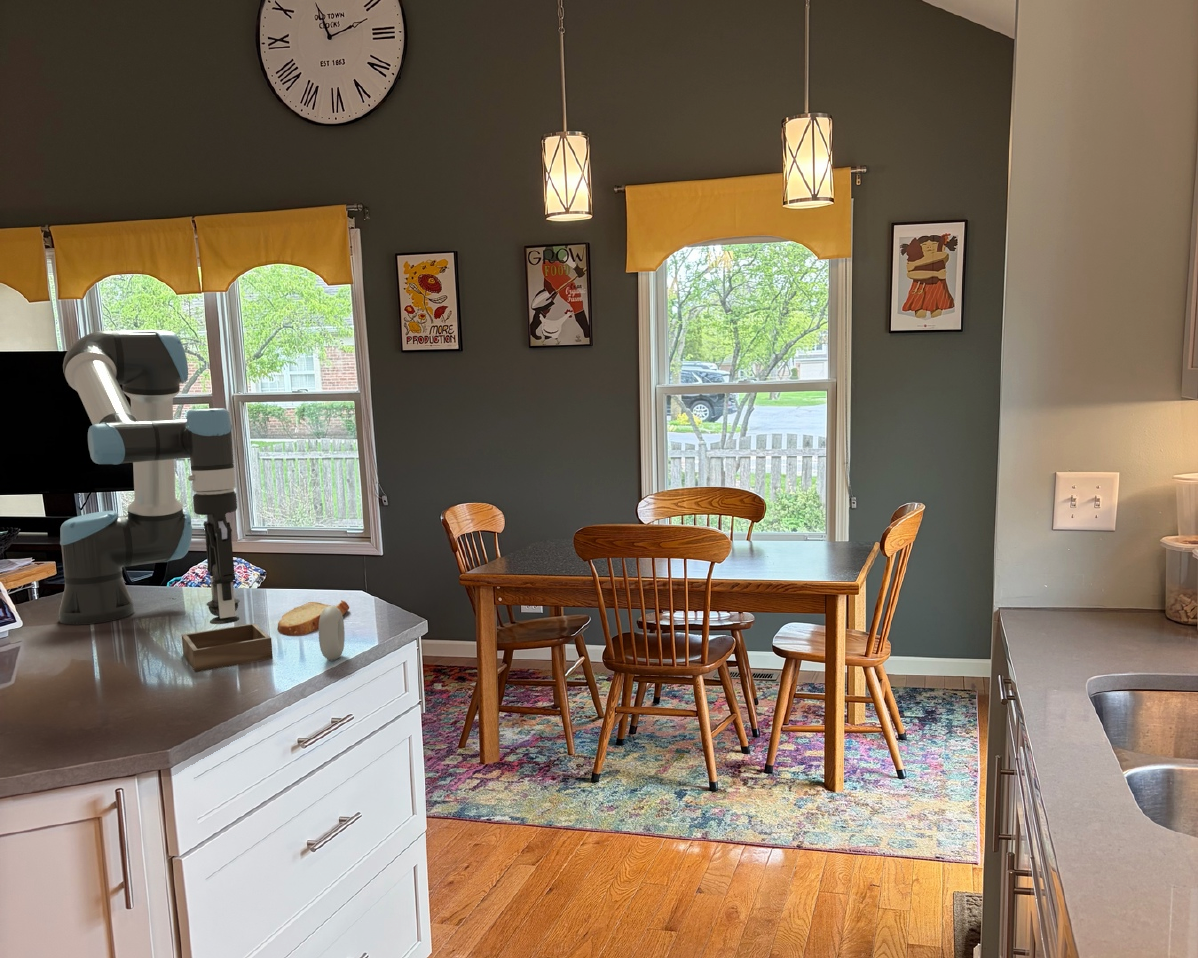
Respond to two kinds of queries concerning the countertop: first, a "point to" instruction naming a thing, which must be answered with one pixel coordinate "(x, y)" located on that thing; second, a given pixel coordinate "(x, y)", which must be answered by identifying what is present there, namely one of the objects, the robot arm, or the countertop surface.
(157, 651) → the countertop surface
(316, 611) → the slice of bread
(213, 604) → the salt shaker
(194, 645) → the box
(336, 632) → the donut
